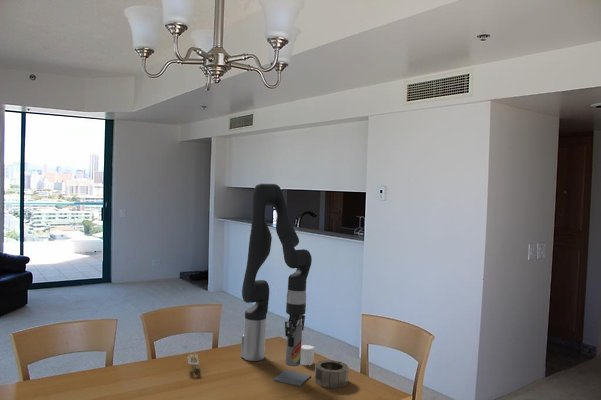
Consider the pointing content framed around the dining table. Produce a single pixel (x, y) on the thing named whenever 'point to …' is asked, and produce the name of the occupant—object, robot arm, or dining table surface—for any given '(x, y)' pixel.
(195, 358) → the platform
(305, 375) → the rubber mat
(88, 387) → the dining table surface
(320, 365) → the collar
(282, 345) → the dining table surface
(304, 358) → the white cylinder
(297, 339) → the lotion bottle
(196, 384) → the dining table surface
